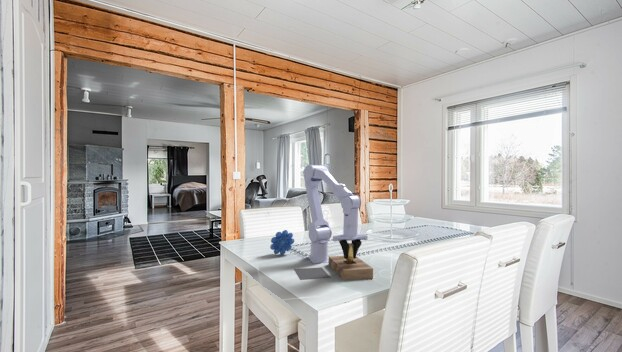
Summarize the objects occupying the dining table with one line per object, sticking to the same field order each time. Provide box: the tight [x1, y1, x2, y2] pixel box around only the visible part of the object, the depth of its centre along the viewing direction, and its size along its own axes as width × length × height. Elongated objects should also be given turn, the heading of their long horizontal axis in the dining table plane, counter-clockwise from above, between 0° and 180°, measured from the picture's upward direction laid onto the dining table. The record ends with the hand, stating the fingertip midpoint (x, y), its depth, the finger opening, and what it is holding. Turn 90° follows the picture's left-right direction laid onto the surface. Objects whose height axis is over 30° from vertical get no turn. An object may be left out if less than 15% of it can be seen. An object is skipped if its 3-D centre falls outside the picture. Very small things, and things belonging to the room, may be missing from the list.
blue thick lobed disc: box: [270, 229, 295, 256], centre depth 141 cm, size 12×7×12 cm, turn 100°
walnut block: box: [328, 255, 374, 281], centre depth 118 cm, size 18×12×4 cm, turn 15°
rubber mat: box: [293, 266, 331, 281], centre depth 114 cm, size 12×12×1 cm
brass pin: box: [346, 242, 354, 264], centre depth 118 cm, size 3×3×9 cm
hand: (349, 258), depth 118 cm, fingers closed on brass pin, 3 cm apart
